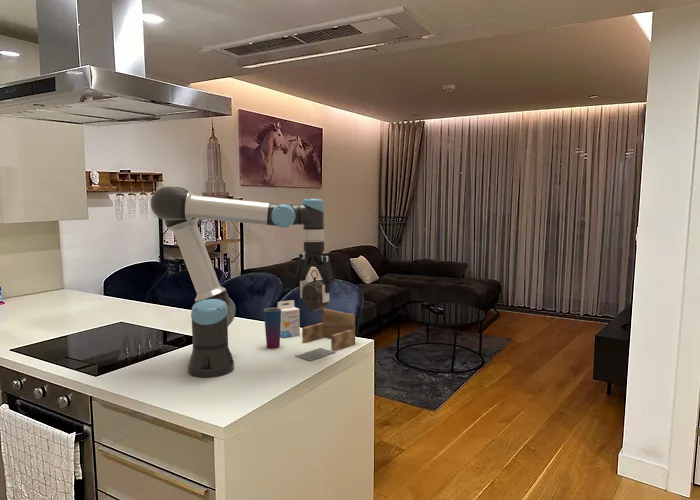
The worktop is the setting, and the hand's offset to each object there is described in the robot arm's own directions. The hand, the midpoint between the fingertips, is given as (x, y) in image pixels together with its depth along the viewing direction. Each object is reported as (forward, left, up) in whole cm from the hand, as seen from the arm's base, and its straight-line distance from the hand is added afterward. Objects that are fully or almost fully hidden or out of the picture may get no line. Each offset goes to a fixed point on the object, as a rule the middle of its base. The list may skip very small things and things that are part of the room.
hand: (314, 299), depth 182 cm
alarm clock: (0, 0, -5) cm, 5 cm away
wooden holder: (+14, +7, -21) cm, 26 cm away
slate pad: (0, 0, -21) cm, 21 cm away
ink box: (+11, +28, -21) cm, 37 cm away
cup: (-4, +20, -21) cm, 29 cm away
